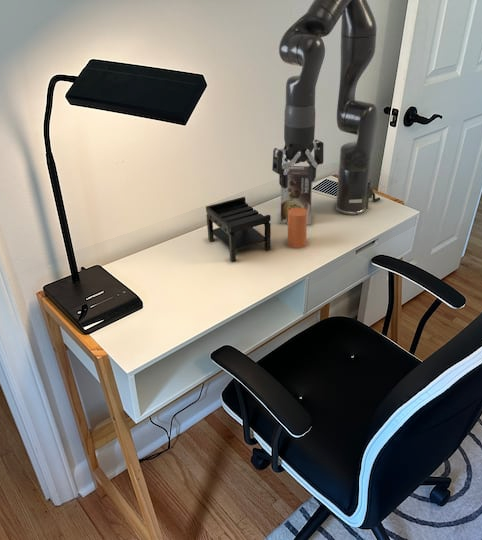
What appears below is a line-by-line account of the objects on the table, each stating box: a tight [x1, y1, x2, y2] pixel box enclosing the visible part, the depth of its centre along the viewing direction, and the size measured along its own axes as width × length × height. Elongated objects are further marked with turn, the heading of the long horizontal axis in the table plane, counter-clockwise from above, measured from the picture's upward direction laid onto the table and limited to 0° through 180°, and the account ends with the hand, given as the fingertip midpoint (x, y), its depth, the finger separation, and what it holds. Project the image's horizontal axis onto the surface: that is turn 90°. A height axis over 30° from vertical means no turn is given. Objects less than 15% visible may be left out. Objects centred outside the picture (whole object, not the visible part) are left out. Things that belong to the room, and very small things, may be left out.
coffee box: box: [280, 165, 313, 226], centre depth 151 cm, size 9×6×16 cm
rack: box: [205, 196, 272, 263], centre depth 140 cm, size 12×14×10 cm
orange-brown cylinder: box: [286, 207, 308, 249], centre depth 141 cm, size 5×5×10 cm
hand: (297, 183), depth 134 cm, fingers open, 8 cm apart
